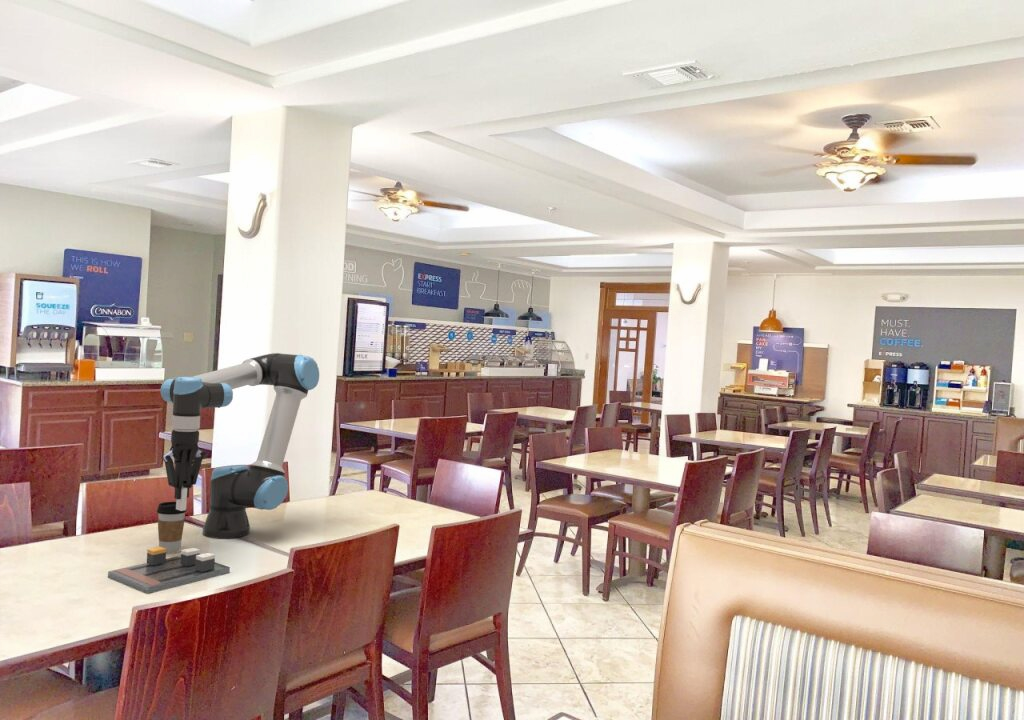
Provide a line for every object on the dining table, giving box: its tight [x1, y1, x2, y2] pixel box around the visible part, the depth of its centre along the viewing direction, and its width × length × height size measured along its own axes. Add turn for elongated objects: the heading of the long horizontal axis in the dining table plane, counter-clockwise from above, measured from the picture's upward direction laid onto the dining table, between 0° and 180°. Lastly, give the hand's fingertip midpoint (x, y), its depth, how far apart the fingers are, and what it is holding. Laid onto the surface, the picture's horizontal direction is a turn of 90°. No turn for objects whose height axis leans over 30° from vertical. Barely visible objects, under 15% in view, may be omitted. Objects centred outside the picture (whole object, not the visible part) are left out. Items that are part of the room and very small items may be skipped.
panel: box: [107, 555, 231, 595], centre depth 215 cm, size 25×19×2 cm
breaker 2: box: [195, 552, 216, 572], centre depth 216 cm, size 4×3×4 cm
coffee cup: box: [156, 501, 187, 555], centre depth 237 cm, size 8×8×15 cm
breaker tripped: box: [146, 546, 167, 565], centre depth 219 cm, size 4×3×4 cm
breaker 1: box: [180, 547, 201, 566], centre depth 220 cm, size 4×3×4 cm
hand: (180, 509), depth 224 cm, fingers closed
